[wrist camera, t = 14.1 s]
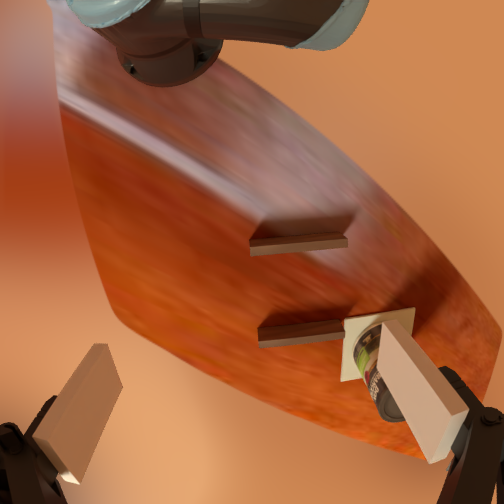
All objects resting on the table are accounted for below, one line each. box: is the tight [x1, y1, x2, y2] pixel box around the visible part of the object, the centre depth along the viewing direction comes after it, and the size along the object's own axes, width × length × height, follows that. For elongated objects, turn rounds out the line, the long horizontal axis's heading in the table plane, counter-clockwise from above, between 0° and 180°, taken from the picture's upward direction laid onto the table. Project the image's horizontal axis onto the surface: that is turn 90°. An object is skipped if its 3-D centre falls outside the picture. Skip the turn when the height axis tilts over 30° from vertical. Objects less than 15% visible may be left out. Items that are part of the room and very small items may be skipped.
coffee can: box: [352, 321, 406, 422], centre depth 44 cm, size 10×10×14 cm
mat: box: [341, 307, 416, 381], centre depth 51 cm, size 13×13×1 cm
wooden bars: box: [249, 232, 348, 348], centre depth 45 cm, size 15×13×4 cm
